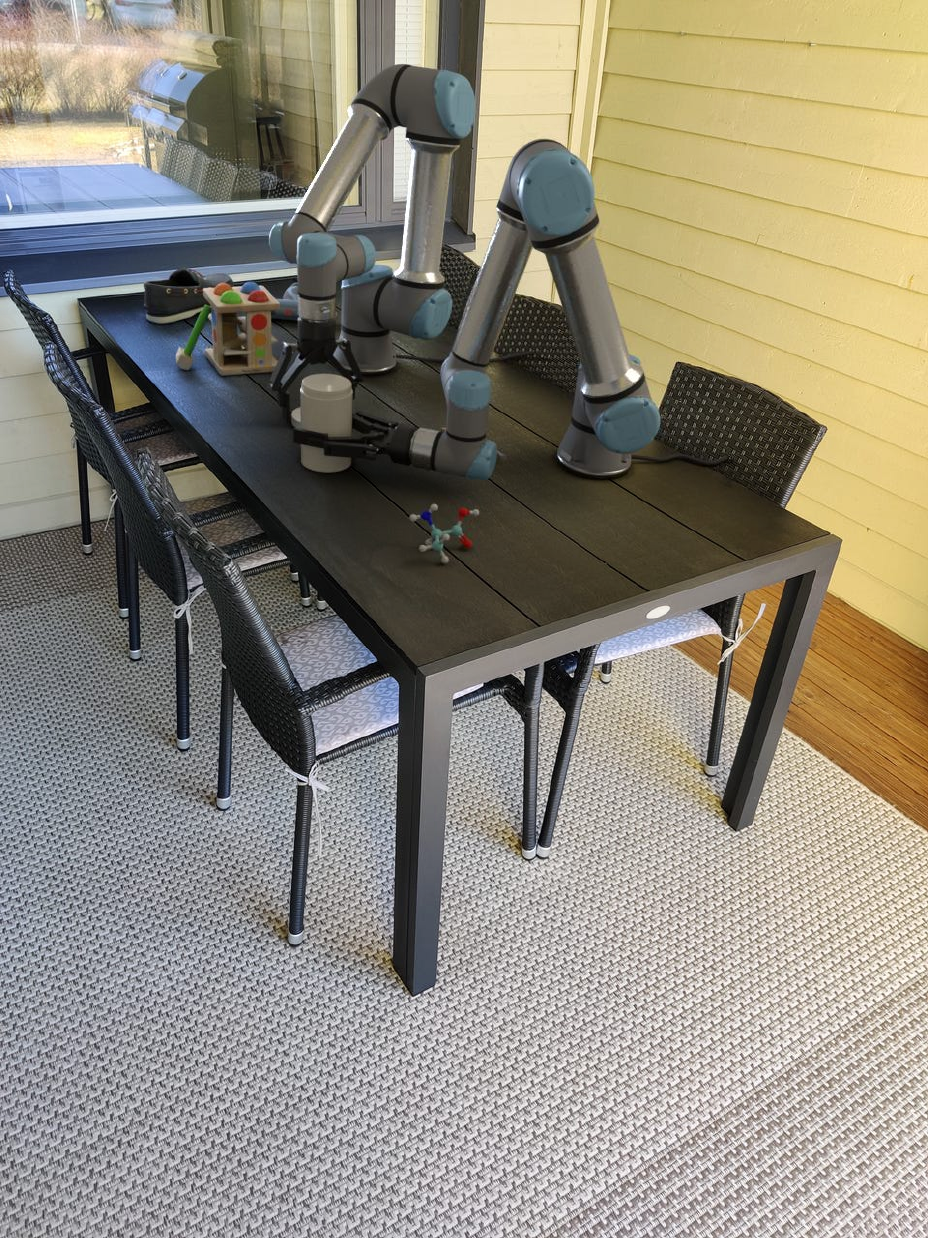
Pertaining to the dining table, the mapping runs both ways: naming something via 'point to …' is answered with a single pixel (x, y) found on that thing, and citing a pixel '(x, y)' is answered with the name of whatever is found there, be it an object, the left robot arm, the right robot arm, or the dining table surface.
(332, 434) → the jar
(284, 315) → the power drill
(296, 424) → the lid
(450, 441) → the right robot arm
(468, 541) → the molecular model
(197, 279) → the boat shoe
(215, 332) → the pounding bench toy
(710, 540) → the dining table surface
